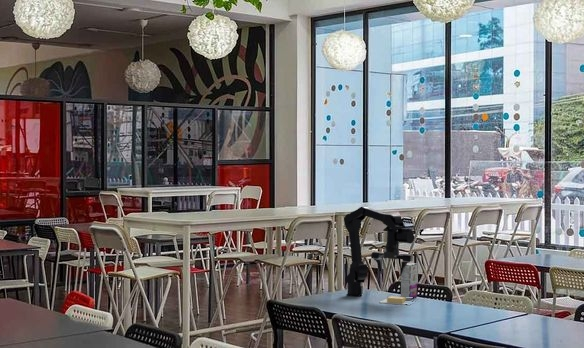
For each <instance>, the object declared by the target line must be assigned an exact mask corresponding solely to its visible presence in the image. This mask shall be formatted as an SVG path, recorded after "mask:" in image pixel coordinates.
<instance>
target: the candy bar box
mask: <svg viewBox="0 0 584 348" xmlns="http://www.w3.org/2000/svg"><path fill="white" fill-rule="evenodd" d="M400 297H415V298H417V297H418V262H417V263H415V262H409V263H407V265H406V266H405V268H404V271H403V273H402V275H401V276H400Z"/></svg>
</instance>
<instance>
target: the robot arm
mask: <svg viewBox="0 0 584 348" xmlns="http://www.w3.org/2000/svg"><path fill="white" fill-rule="evenodd" d="M366 217H368V218H370V219H374V220H376V221H379V222H381V223H382V224H383V225H384V226H386V227H385V228H383V230H382V232H386V244H385V248H384V249H383V253H382V252H381V251H372V252H371V254H370V259H373V261H376V264H377V266H378V270H379V273H380V275H383V259H390V260H393V259H395V260H402V261H401V263H400V264H401V265H400V272H399V277H401V275H402V273H403V271H404V268H405V266H406V265H407V263H411V262H412V261H413V260H414V256H413V255H412V254H411V253H410V254H407V253H404V254H402V255H401V254H400V249H399V247H400V243H401V244H413V243H414V241H415V234H414V232H413V229H412V228H407V227H406V226H405V224H404V221H403V218H402V216H401V215H400V214H396V213H395V214H393V213H384V212H382V211H379V210H377V209H374V208H370V207H368V206H360V207H358V208H357V209H356V210H353V211H351V212H350V213H347V214H345V216H344V217H343V223H344V227H345V229H346V231H347V232H348V238H349V247H350V255H351V256H350V257H351V264H350V266H349V273H348V275H346V276H345V278H344V281H345V283H346V284H347V294H346V296H348V295H352V297H361V296H363V295H362V294H364V293H363V291H364V286H363V284H364V283H365V281H366V278H367V276H368V274H369V271H368V265H367V263H365V264H364V262H363V258H362V247H361V237H360V230H361V227H362V222H363V221H364V220H366ZM360 295H361V296H360Z"/></svg>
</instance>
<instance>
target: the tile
mask: <svg viewBox="0 0 584 348" xmlns="http://www.w3.org/2000/svg"><path fill="white" fill-rule="evenodd" d="M387 297H388V298H387ZM387 297H386V299H387V302H391V303H404V302H405V301H406V297H401V296H393V295H390V296H387Z"/></svg>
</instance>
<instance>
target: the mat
mask: <svg viewBox="0 0 584 348" xmlns="http://www.w3.org/2000/svg"><path fill="white" fill-rule="evenodd" d="M388 297H389V296H387V297H386V298H385V299H383V300H381V301H379V304H388V305H399V306H406V305H405V304H408V303H405V302H404V303H391V302H387V298H388ZM406 301H412V299H411V298H406ZM407 306H411V305H410V304H408V305H407Z"/></svg>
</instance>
